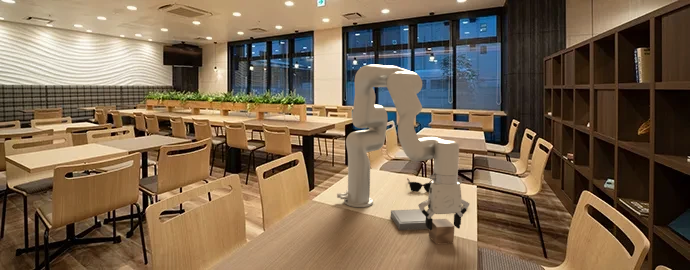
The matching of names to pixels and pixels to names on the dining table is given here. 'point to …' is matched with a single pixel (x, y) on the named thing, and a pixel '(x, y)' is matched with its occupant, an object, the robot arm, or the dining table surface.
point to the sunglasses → (419, 186)
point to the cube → (442, 231)
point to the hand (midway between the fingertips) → (443, 227)
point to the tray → (409, 219)
